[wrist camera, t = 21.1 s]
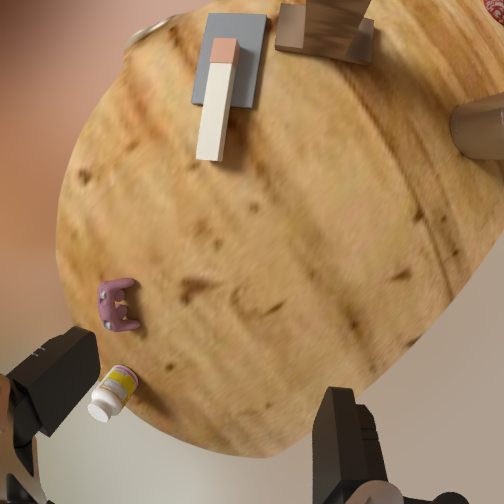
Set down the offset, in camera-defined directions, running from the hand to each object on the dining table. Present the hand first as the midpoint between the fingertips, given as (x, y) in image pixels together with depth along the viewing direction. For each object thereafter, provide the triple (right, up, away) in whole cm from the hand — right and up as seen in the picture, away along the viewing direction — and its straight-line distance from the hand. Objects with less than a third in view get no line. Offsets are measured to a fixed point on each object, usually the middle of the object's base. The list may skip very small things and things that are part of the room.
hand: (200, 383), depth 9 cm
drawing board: (-2, +33, +29) cm, 44 cm away
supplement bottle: (-25, -22, +47) cm, 58 cm away
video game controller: (-21, -5, +42) cm, 47 cm away
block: (-3, +26, +30) cm, 40 cm away
